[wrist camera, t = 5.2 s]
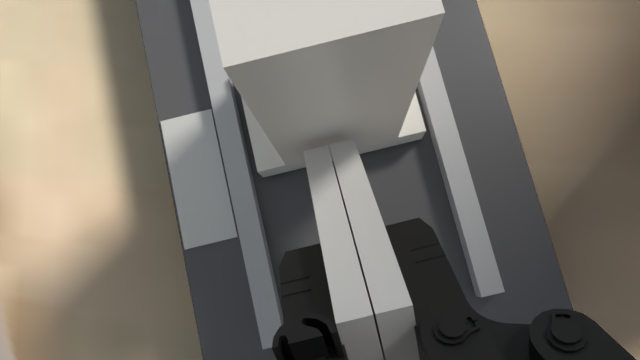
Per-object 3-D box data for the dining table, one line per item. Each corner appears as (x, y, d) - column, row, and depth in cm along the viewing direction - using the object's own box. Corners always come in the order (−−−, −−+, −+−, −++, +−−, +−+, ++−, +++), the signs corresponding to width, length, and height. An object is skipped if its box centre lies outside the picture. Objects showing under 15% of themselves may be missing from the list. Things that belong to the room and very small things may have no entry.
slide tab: (393, 39, 20) (439, -194, 10) (421, 138, 19) (501, -2, 9) (241, 77, 20) (129, -115, 10) (263, 177, 19) (167, 81, 9)
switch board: (371, -256, 26) (375, -345, 22) (543, 310, 21) (586, 320, 17) (118, -191, 26) (79, -268, 22) (231, 384, 21) (205, 410, 17)
